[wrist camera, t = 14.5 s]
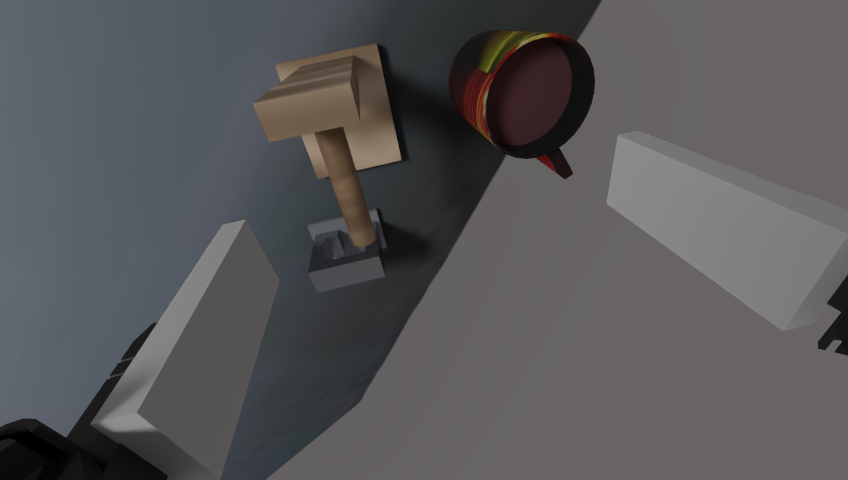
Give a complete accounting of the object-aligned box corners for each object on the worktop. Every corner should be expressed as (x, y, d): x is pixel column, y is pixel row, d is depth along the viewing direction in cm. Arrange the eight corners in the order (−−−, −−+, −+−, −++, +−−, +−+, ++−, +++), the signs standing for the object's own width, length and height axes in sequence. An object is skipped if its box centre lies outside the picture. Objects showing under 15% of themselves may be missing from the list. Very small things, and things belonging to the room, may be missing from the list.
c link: (323, 253, 45) (317, 292, 38) (315, 234, 43) (308, 273, 37) (380, 239, 45) (385, 276, 39) (375, 220, 44) (379, 256, 37)
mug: (527, 151, 43) (579, 189, 33) (433, 104, 37) (461, 133, 28) (575, 75, 38) (650, 93, 29) (476, 11, 33) (527, 5, 23)
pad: (307, 223, 43) (307, 226, 42) (376, 208, 43) (376, 210, 43) (323, 259, 46) (322, 262, 46) (386, 245, 47) (386, 247, 46)
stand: (277, 63, 33) (197, 103, 16) (376, 43, 33) (395, 62, 17) (321, 182, 40) (297, 293, 24) (402, 164, 41) (433, 261, 24)
